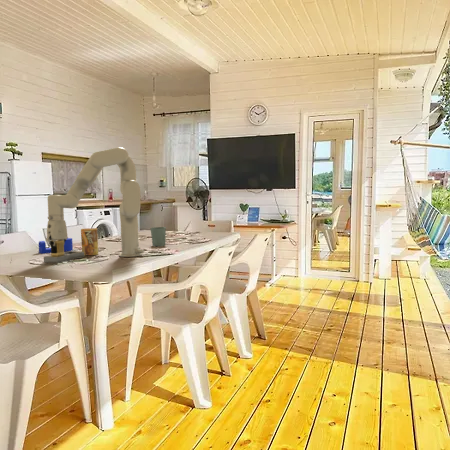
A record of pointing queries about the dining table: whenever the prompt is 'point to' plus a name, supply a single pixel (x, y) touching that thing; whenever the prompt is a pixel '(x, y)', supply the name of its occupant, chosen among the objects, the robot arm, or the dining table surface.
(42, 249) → the bracket
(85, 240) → the candy box
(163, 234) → the green cup
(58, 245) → the tan shipping carton
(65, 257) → the grey flat frame
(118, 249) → the dining table surface
